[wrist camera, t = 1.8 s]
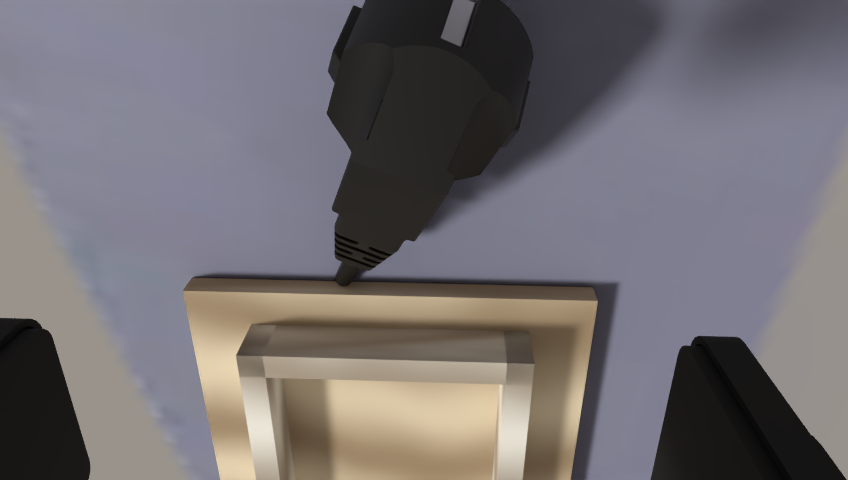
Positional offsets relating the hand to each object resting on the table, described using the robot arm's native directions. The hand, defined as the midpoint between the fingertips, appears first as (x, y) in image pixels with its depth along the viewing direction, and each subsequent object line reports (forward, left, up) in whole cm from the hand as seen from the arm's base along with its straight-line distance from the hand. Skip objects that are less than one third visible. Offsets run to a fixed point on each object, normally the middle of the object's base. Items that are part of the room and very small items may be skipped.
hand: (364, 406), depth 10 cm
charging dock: (+14, -1, -14) cm, 20 cm away
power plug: (+1, -1, -15) cm, 15 cm away
